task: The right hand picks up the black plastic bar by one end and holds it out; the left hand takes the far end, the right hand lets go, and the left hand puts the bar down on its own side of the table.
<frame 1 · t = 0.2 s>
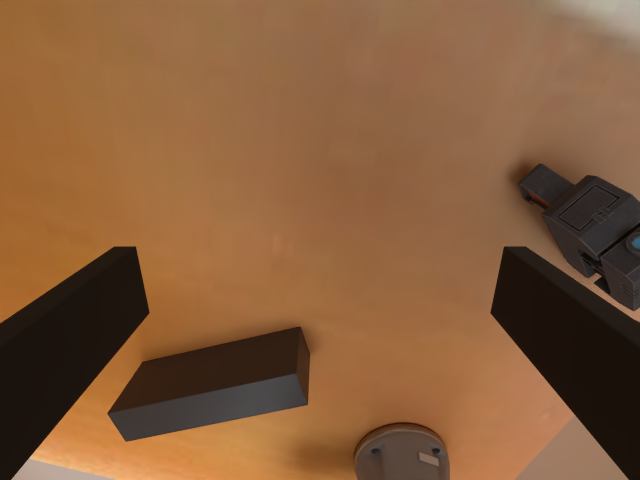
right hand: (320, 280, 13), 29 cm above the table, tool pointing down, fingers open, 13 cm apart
bar: (225, 358, 50), on the table
tool: (564, 224, 43), on the table
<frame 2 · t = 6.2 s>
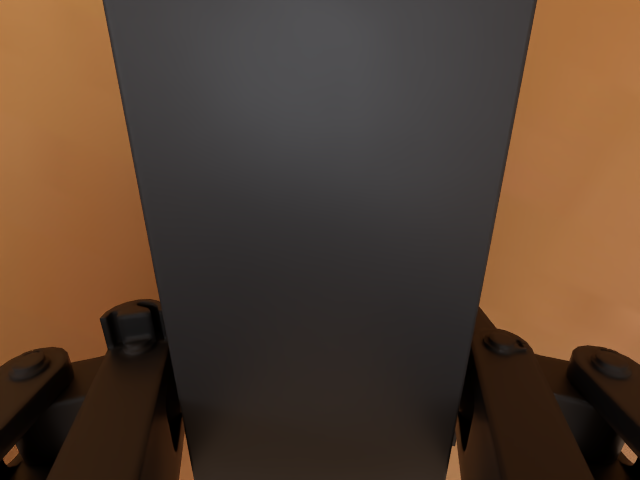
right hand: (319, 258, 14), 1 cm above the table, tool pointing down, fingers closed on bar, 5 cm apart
bar: (319, 8, 12), on the table, touching right hand
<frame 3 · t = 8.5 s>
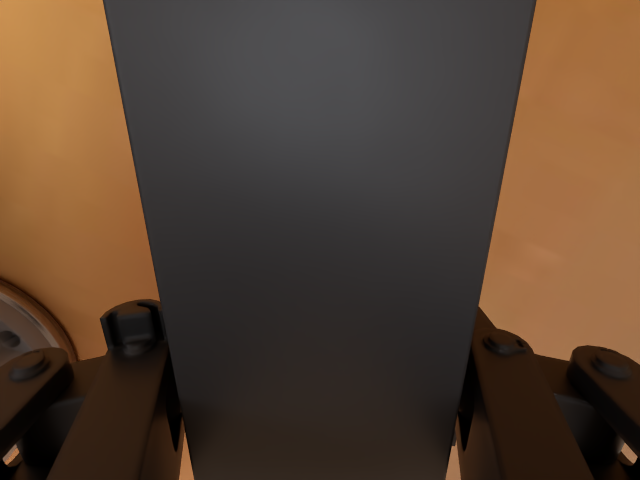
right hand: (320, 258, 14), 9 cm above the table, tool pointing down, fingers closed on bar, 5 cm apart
bar: (319, 8, 12), point 8 cm above the table, touching right hand
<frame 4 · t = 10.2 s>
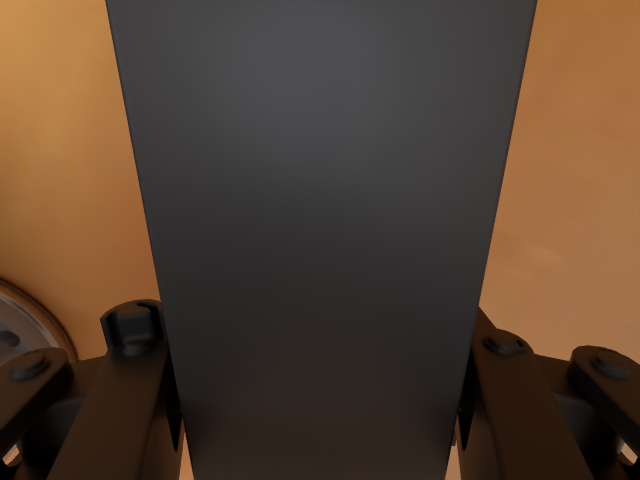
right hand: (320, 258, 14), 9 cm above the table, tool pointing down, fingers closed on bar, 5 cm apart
bar: (320, 9, 12), point 8 cm above the table, touching right hand, left hand
when the right hand's fingers open (9 cm above the table, at t = 11.1 s): bar stays where it is, held by the left hand.
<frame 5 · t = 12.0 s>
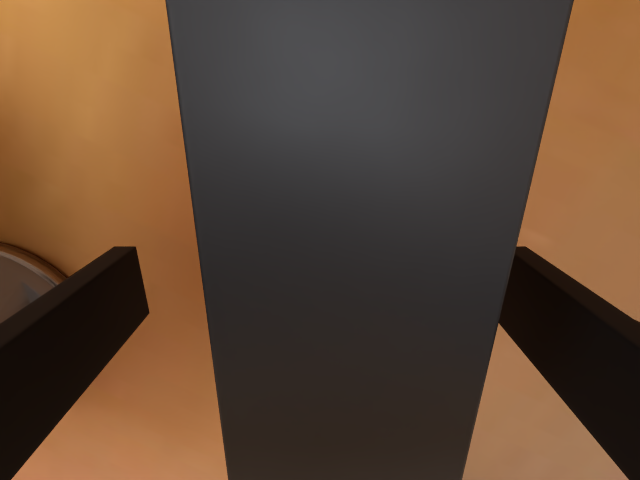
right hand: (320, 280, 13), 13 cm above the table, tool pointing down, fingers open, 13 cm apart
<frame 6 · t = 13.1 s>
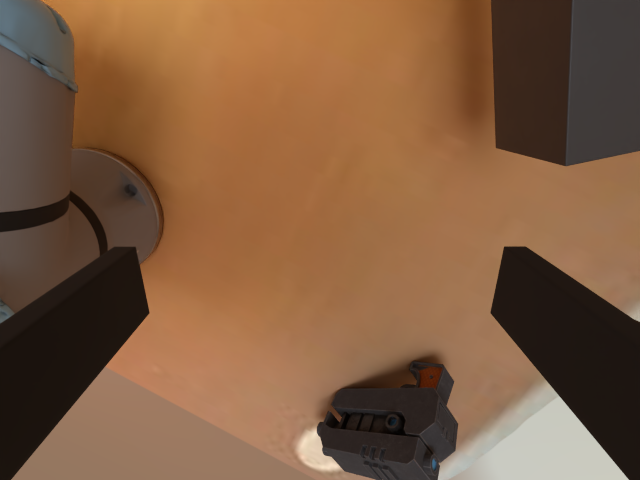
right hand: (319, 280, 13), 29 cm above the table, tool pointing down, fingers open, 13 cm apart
tool: (376, 386, 51), on the table
when the left hand's fingers open (5 cm above the table, at t = 16.0 s): bar stays where it is, on the table.
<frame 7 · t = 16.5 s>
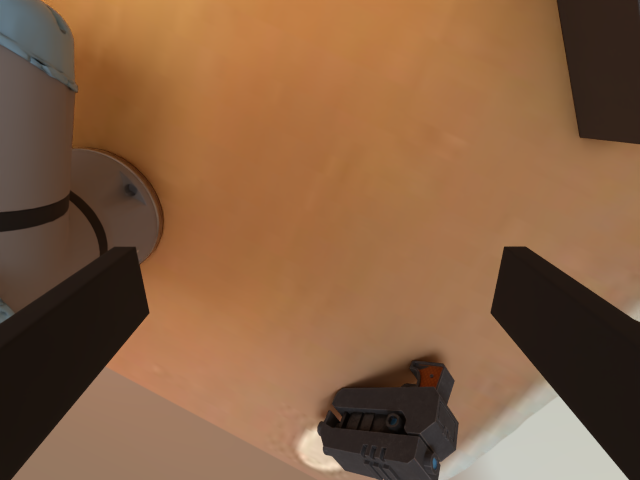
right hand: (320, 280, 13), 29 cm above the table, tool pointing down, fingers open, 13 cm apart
bar: (586, 11, 34), on the table
tool: (377, 386, 51), on the table
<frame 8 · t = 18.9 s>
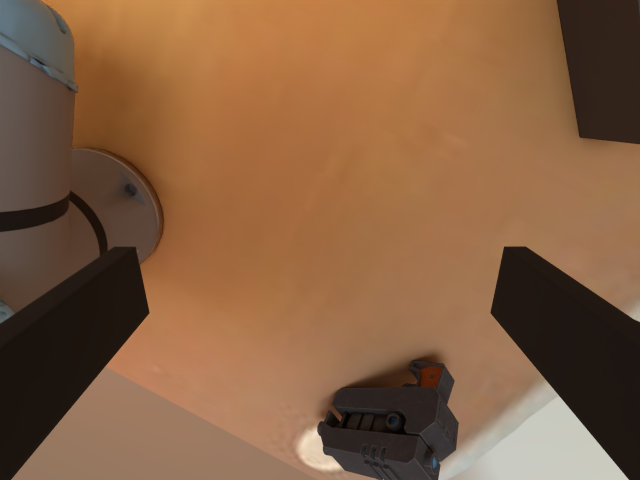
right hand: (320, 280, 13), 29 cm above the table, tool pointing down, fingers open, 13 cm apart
bar: (586, 11, 34), on the table
tool: (377, 386, 51), on the table
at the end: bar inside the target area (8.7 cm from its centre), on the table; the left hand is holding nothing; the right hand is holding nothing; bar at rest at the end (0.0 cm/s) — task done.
